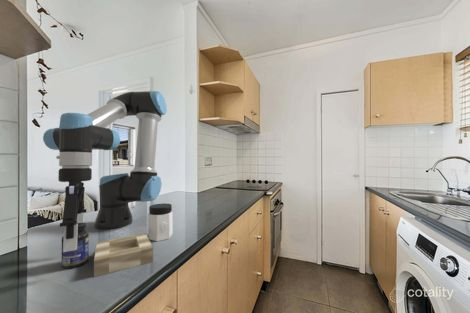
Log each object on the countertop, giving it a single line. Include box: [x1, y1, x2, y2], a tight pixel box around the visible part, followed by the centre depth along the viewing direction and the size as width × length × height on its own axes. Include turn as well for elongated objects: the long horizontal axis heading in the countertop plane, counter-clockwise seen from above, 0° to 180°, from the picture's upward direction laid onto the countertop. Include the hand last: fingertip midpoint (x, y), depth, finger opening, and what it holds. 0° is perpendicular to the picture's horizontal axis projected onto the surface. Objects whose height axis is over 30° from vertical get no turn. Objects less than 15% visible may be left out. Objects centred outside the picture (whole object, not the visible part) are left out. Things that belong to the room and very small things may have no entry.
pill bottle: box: [61, 222, 90, 269], centre depth 58 cm, size 6×6×11 cm
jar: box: [147, 203, 174, 242], centre depth 78 cm, size 9×8×12 cm
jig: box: [93, 233, 154, 278], centre depth 62 cm, size 16×14×4 cm
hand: (74, 242), depth 58 cm, fingers open, 13 cm apart
